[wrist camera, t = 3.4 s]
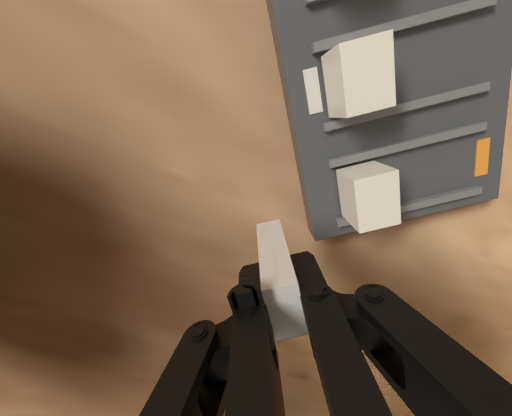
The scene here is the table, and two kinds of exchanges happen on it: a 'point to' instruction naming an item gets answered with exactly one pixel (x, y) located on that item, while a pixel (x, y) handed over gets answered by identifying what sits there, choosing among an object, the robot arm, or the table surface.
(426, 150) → the switch panel
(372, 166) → the switch
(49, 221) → the table surface
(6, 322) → the table surface
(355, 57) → the switch middle
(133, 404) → the table surface
